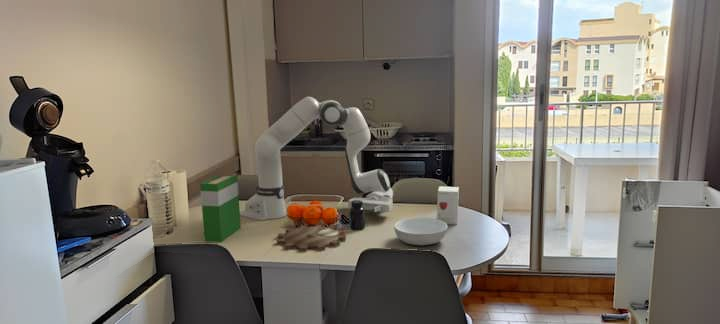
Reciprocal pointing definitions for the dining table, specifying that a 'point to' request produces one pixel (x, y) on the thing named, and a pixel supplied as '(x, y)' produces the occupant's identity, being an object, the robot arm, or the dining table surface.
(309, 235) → the sprocket wheel
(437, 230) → the serving bowl
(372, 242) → the dining table surface
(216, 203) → the green cereal box
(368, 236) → the dining table surface
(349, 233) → the dining table surface
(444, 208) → the supplement box
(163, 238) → the dining table surface
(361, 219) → the supplement bottle
